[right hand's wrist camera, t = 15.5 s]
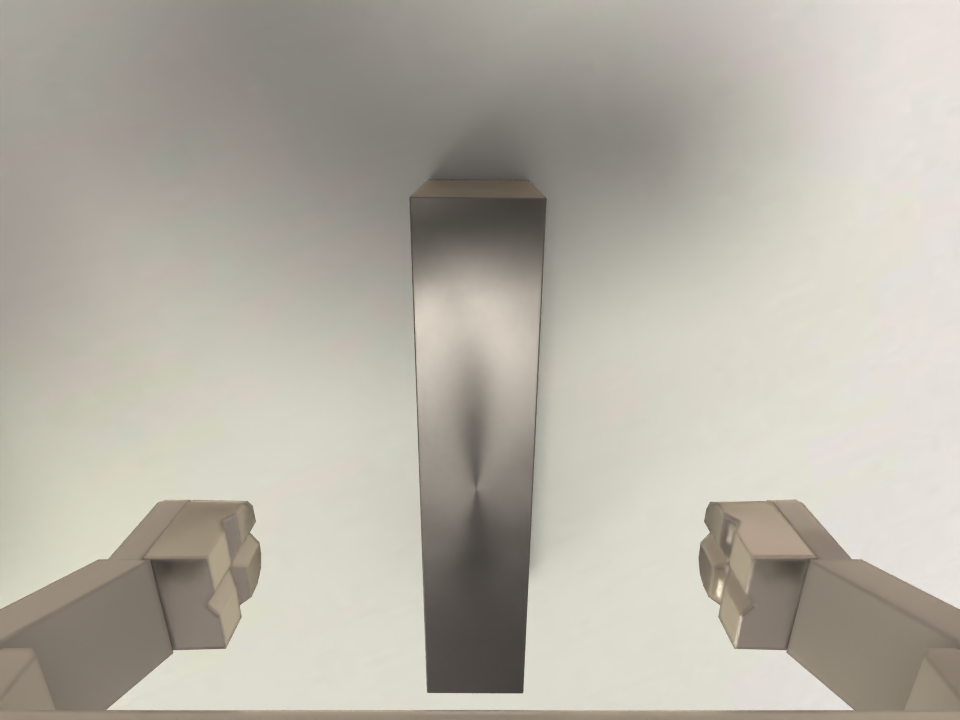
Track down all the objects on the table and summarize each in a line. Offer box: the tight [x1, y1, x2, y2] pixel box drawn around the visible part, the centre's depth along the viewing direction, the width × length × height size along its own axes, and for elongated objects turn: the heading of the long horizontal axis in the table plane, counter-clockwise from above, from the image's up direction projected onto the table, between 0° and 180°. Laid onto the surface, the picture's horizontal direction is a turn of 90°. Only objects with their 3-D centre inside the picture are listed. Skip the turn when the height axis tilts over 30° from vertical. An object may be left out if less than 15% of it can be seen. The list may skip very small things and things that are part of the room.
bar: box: [410, 180, 546, 693], centre depth 29 cm, size 25×5×8 cm, turn 0°
